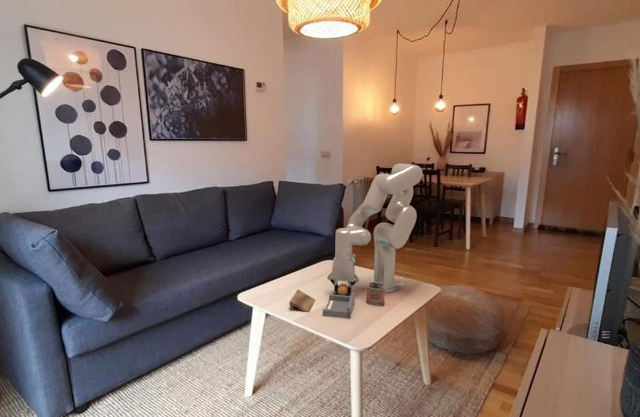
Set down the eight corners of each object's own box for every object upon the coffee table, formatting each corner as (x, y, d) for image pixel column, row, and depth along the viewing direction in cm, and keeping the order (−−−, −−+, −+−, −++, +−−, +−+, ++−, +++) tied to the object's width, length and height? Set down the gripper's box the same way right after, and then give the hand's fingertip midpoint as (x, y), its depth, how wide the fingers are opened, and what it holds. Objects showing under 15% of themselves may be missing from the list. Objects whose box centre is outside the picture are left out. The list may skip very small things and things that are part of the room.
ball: (348, 292, 163) (349, 282, 162) (347, 297, 158) (347, 286, 157) (338, 291, 164) (338, 281, 163) (336, 296, 159) (336, 285, 158)
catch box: (354, 301, 154) (354, 292, 153) (350, 318, 139) (350, 308, 138) (329, 299, 156) (329, 290, 155) (322, 315, 141) (322, 305, 141)
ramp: (315, 301, 156) (315, 291, 155) (309, 314, 144) (309, 303, 143) (296, 299, 157) (296, 289, 157) (289, 312, 146) (289, 301, 145)
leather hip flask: (365, 303, 152) (365, 281, 150) (366, 300, 155) (367, 279, 153) (383, 306, 149) (384, 284, 148) (385, 303, 153) (386, 281, 151)
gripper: (363, 254, 159) (362, 292, 163) (326, 252, 163) (326, 288, 166) (361, 260, 152) (360, 299, 156) (323, 257, 156) (322, 295, 159)
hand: (342, 293), depth 161 cm, fingers closed on ball, 4 cm apart
